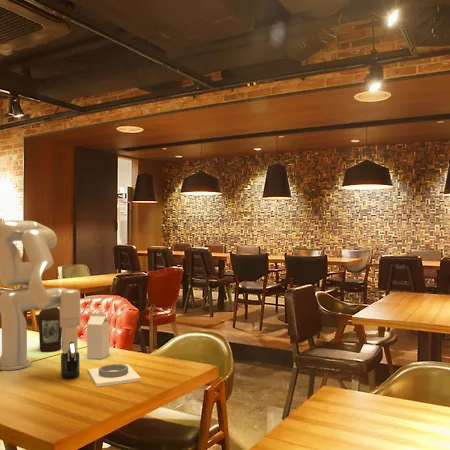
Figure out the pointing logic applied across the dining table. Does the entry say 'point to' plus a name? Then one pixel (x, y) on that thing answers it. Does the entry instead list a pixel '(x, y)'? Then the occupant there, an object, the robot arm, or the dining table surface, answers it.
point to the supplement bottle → (64, 367)
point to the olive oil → (49, 330)
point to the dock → (113, 375)
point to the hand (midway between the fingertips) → (70, 368)
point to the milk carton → (97, 336)
